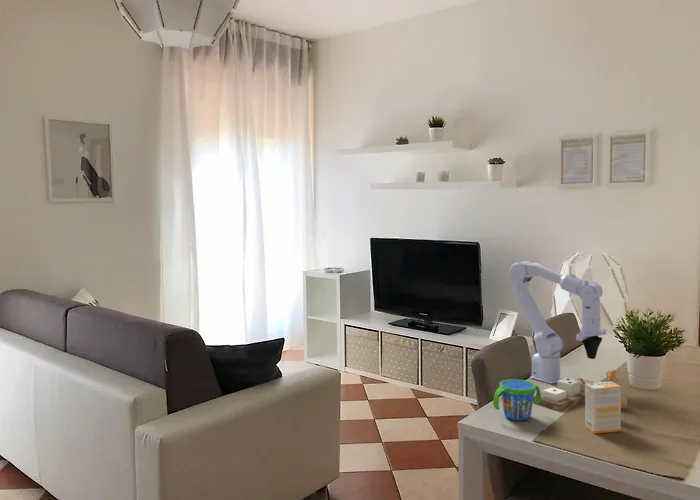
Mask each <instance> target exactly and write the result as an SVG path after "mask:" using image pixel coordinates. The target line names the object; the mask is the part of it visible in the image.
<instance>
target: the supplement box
mask: <svg viewBox="0 0 700 500" xmlns="http://www.w3.org/2000/svg"><path fill="white" fill-rule="evenodd" d="M617 384H618V383H617ZM617 384H615V383H614V382H609V381H602V382H601V381H599V382H594V383H585V402H584V403H585V404H584V406H585V407H584V408H585V409H584V417H585V418H584V420H585V421H584V427H585V429H586V430H587V431H590V432H591V433H592V434H593V435H594V434H605V433H615V432H616V433H617V432H621V423H622V422H621V419H622V417H621V412H622V411H621V410H622V409H621V396H622V394H621V393H622V392H621V391H622V390H621V389H622V388H621V387H622V386H621V385H619V384H618V385H617Z"/></svg>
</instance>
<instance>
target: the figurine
mask: <svg viewBox="0 0 700 500" xmlns="http://www.w3.org/2000/svg"><path fill="white" fill-rule="evenodd" d="M616 373H617V372H616V370H615V369H612V370H607V371H606V377H607V378H608V382H614V383H615V384H617V385H619V384H618V383H619V379H618V378H617V377H616ZM627 405H628V400H627V398H626V397H624V396H623V395H621V410H623V409H625V408H626V407H627Z"/></svg>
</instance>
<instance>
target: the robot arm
mask: <svg viewBox="0 0 700 500" xmlns="http://www.w3.org/2000/svg"><path fill="white" fill-rule="evenodd" d="M508 277H509V278H510V279H509V280H510V289H511V292H512V295H513V296H514V297H515V300H516V301H517V303H518V305H519V307H520V309H521V311H522V312H523V314H524V316H525V318H526V321H528V324H529V325H530V327H531V329H532V332H533V333H534V336H533V342H534V343H535V349H536V352H535V353H534V354H533V355H532V359H531V375H530V376H529V378H530V379H533V380H537V381H540V382H544V383H546V384H547V383H548V384H551V385H554V384H557V381H559V380H562V379H565V378H566V377H562V376H561V351H562V349H563V348H564V342H563V341H564V340H563V339H562V338H561V337H560V336H559V335H558V334H557V333H556V332H555V330H554V329H552V328H551V327H550V326H549V325H548V324H547V322H546V320H545V318H544V316H543V314H542V312H541V310H540V309H539V307H538V305H537V303H536V301H535V300H534V298H533V296H532V294H531V293H530V291H529V289H528V287H529V285H530V282H531V281H532V279H533V278H534V277H540V278H543V279H546V280H548V281H551V282H553V283H556V284H559V286H560V288H561V290H564V291H566V292H568V293H570V294H573V295H575V296H577V297H579V298H580V300H581V324H582V325H581V329H582V330H581V331H580V332H579V333H577V334H575V341H580V342H581V343H582V345H583V346H584V349H585V354H586V356H587V359H591V360H595V359H596V357H597V355H598V354H597V353H598V350H599V347H600V345H601V343H602V342H603V337H601V336H605V335H607V328H603V327H602V328H601V297H602V295H603V287H602V286H601V285H600V284H599V283H597V282H596V281H595V282H589V280H588V279H581V278H580V277H577V276H576V274H575V273H571V274H570V273H567V274H564V275H563V274H561V273H559V272H557V271H555V270H553V269H550V268H549V267H546V266H544V265H542V264H540V263H538V262H535V261H532V260H529V259H528V260H525V261H520V262H514V263H512V265H511V266H510V268H509V271H508Z"/></svg>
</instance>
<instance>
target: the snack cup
mask: <svg viewBox="0 0 700 500" xmlns="http://www.w3.org/2000/svg"><path fill="white" fill-rule="evenodd" d="M541 393H542V392H541V389H540V388H539V386H538V385H537V384H535V383H534V382H532V381H529V380H525V379H517V378H514V379H513V378H510V379H503V380H501V381H500V382H499V386H498V387H497V389H496V390H495V392H494V396H493V401H492V404H493V408H494V410H497V411H499V410H500V405H499V404H500V402H499V400H500V395H501V400H502V408H503V409H502V410H503V413H504V417H506V419H509V420H512V421H518V422H520V421H521V422H523V421H527V420H530V418H531V416H532V410H533V404H534V403H533V396H535V395H536V397H535V402H536V403H538V404H537V405H539V404H540V403H541ZM536 403H535V404H536Z"/></svg>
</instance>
